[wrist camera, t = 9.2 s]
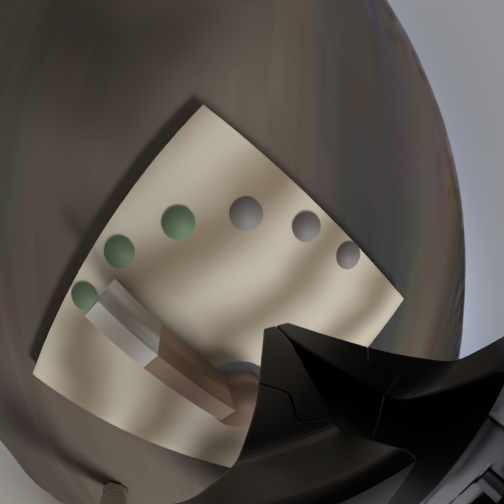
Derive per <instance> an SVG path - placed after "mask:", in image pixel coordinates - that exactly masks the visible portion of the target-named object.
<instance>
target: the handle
mask: <svg viewBox="0 0 504 504" xmlns="http://www.w3.org/2000/svg"><path fill="white" fill-rule="evenodd" d="M127 497H129V492H128V489H127V488H125V487H124V486H123V485H121V484H115V483H113V482H108V484H105V485H104V487H103V494H102V497H101V501H100V504H130V503H129V499H128V498H127Z"/></svg>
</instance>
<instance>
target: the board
mask: <svg viewBox="0 0 504 504" xmlns="http://www.w3.org/2000/svg"><path fill="white" fill-rule="evenodd" d="M114 279H116V280H117V281H118V282H119V283H120V284H121V285H122V286H123V287H124V288H125V289H126V290H127V291H128V292H129V293H130V294H131V295H132V296H133V297H134V298H135V299H136V300H137V301H138V302H139V303H140V304H141V305H142V306H143V307H144V308H145V309H146V310H147V311H148V312H149V313H151V314H152V315H153V316H154V317H155V318H156V319H157V320H158V321H159V322H160V323H161V324H163V325H164V326H165V327H166V328H167V329H168V330H169V331H170V332H172V333H173V334H174V335H175V336H176V337H177V338H178V339H180V340H181V341H182V342H183V343H184V344H185V345H187V346H188V347H189V348H190V349H191V350H193V351H194V352H195V353H196V354H198V355H199V356H200V357H201V358H203V359H204V360H205V361H206V362H208V363H209V364H210V365H211V366H213V367H214V368H215V369H217V370H218V371H219V372H220V373H222V374H223V375H226V374H229V373H233V372H248V373H252V374H254V375H256V376H257V377H258V378H259V375H260V365H261V354H262V343H263V332H264V329H265V328H269V327H273V326H276V327H277V325H280V324H284V323H291V324H294V325H297V326H300V327H303V328H306V329H309V330H312V331H315V332H319V333H322V334H325V335H328V336H332V337H335V338H338V339H342V340H345V341H348V342H352V343H355V344H359V345H362V346H366V347H368V346H369V345H370V344H371V342H372V341H373V340H374V339H375V337H376V336H377V335H378V333H379V332H380V331H381V330H382V328H383V327H384V326H385V324H386V323H387V322H388V320H389V319H390V318H391V316H392V315H393V314H394V312H395V311H396V309H397V308H398V307H399V305H400V304H401V302H402V301H403V298H402V296H401V295H400V294H399V293H398V292H397V290H396V289H395V288H394V287H393V286H392V284H391V283H390V282H389V281H388V280H387V279H386V277H385V276H384V275H383V274H382V273H381V272H380V271H379V269H378V268H377V267H376V266H375V265H374V264H373V263H372V261H371V260H370V259H369V258H368V257H367V256H366V255H365V254H364V253H363V252H362V250H361V249H360V248H359V247H358V245H357V244H355V243H354V242H353V241H352V240H351V239H350V238H349V236H348V235H347V234H346V233H345V232H344V231H343V230H342V229H341V228H340V227H339V226H338V225H337V224H336V223H335V222H334V221H333V220H332V219H331V218H330V217H329V216H328V215H327V214H326V213H325V212H324V211H323V210H322V209H321V208H320V207H319V206H318V205H317V204H316V203H315V202H314V201H313V200H312V199H311V198H310V197H309V196H308V195H307V194H306V193H305V192H304V191H303V190H302V189H301V188H300V187H299V186H298V185H297V184H295V183H294V182H293V181H292V180H291V179H290V178H289V177H288V176H287V175H286V174H285V173H284V172H283V171H281V170H280V169H279V168H278V167H277V166H276V165H275V164H274V163H273V162H272V161H270V160H269V159H268V158H267V157H266V156H265V155H264V154H262V153H261V152H260V151H259V150H258V149H257V148H256V147H254V146H253V145H252V144H251V143H250V142H249V141H247V140H246V139H245V138H244V137H243V136H242V135H240V134H239V133H238V132H237V131H236V130H234V129H233V128H232V127H231V126H229V125H228V124H227V123H226V122H225V121H223V120H222V119H221V118H220V117H218V116H217V115H216V114H215V113H213V112H212V111H211V110H209V109H208V108H207V107H206V106H204V105H202V106H201V107H200V108H199V109H198V111H197V112H196V113H195V114H194V115H193V116H192V117H191V118H190V119H189V120H188V121H187V122H186V123H185V124H184V126H183V127H182V128H181V129H180V130H179V131H178V132H177V133H176V134H175V136H174V137H173V138H172V139H171V140H170V141H169V142H168V144H167V145H166V146H165V147H164V148H163V150H162V151H161V152H160V153H159V154H158V156H157V157H156V158H155V159H154V161H153V162H152V163H151V164H150V166H149V167H148V168H147V169H146V171H145V172H144V173H143V174H142V176H141V177H140V178H139V180H138V181H137V182H136V184H135V185H134V186H133V188H132V189H131V190H130V192H129V193H128V195H127V196H126V197H125V199H124V200H123V202H122V203H121V204H120V206H119V207H118V209H117V210H116V212H115V213H114V215H113V216H112V218H111V219H110V221H109V222H108V224H107V225H106V227H105V228H104V230H103V231H102V233H101V235H100V236H99V238H98V239H97V241H96V243H95V244H94V246H93V248H92V249H91V251H90V253H89V254H88V256H87V258H86V259H85V261H84V263H83V265H82V266H81V268H80V270H79V272H78V274H77V276H76V277H75V279H74V281H73V283H72V285H71V287H70V289H69V291H68V293H67V295H66V297H65V299H64V301H63V303H62V305H61V307H60V309H59V311H58V313H57V315H56V318H55V320H54V322H53V324H52V326H51V329H50V331H49V333H48V336H47V338H46V341H45V343H44V345H43V348H42V351H41V353H40V356H39V358H38V361H37V364H36V367H35V369H34V372H33V374H34V375H35V376H36V377H37V378H39V379H40V380H42V381H43V382H44V383H46V384H47V385H48V386H50V387H51V388H53V389H54V390H55V391H57V392H58V393H60V394H61V395H63V396H64V397H66V398H67V399H69V400H71V401H72V402H74V403H75V404H77V405H79V406H80V407H82V408H84V409H85V410H87V411H89V412H90V413H92V414H94V415H96V416H98V417H99V418H101V419H103V420H105V421H107V422H109V423H111V424H113V425H115V426H117V427H119V428H121V429H123V430H125V431H127V432H129V433H131V434H133V435H136V436H138V437H140V438H143V439H145V440H147V441H150V442H152V443H154V444H157V445H160V446H162V447H165V448H167V449H170V450H173V451H176V452H179V453H181V454H184V455H187V456H190V457H194V458H197V459H200V460H204V461H207V462H211V463H214V464H218V465H222V466H226V467H230V468H231V467H232V466H233V465H234V463H235V462H236V460H237V458H238V456H239V454H240V451H241V449H242V446H243V443H244V440H245V438H246V435H247V432H248V429H249V426H250V425H246V426H240V427H234V426H228V425H225V424H223V423H221V422H220V421H219V420H218V419H217V418H216V417H214V416H213V415H211V414H209V413H208V412H206V411H204V410H203V409H201V408H200V407H198V406H196V405H195V404H193V403H192V402H190V401H189V400H187V399H186V398H184V397H183V396H181V395H180V394H178V393H177V392H175V391H174V390H173V389H171V388H170V387H168V386H167V385H166V384H164V383H163V382H161V381H160V380H159V379H157V378H156V377H155V376H153V375H152V374H151V373H149V372H148V371H147V370H145V369H144V368H143V367H142V366H140V365H139V364H138V363H137V362H135V361H134V360H133V359H132V358H130V357H129V356H128V355H127V354H126V353H124V352H123V351H122V350H121V349H120V348H119V347H117V346H116V345H115V344H114V343H113V342H112V341H111V340H110V339H108V338H107V337H106V336H105V335H104V334H103V333H102V332H101V331H100V330H99V329H98V328H96V327H95V326H94V325H93V324H92V323H91V322H90V321H89V320H88V319H87V318H86V317H85V315H86V314H87V312H88V311H89V309H90V308H91V307H92V305H93V304H94V302H95V301H96V300H97V298H98V297H99V296H100V294H101V293H102V292H103V290H104V289H105V288H106V287H107V286H108V285H109V284H110V283H111V282H112V281H113V280H114Z"/></svg>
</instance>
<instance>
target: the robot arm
mask: <svg viewBox="0 0 504 504" xmlns="http://www.w3.org/2000/svg"><path fill="white" fill-rule="evenodd" d="M176 504H504V337H502V338H500V339H498V340H497V341H495V342H493V343H491V344H490V345H488V346H486V347H484V348H482V349H480V350H478V351H476V352H474V353H473V354H471V355H469V356H467V357H464V358H462V359H459V360H454V361H438V360H431V359H424V358H417V357H410V356H404V355H399V354H393V353H389V352H385V351H381V350H377V349H373V348H370V347H368V348H367V347H366V346H362V345H359V344H355V343H352V342H348V341H345V340H342V339H338V338H335V337H332V336H328V335H325V334H322V333H319V332H315V331H312V330H309V329H306V328H303V327H300V326H297V325H294V324H291V323H284V324H280V325H277V327H276V326H273V327H269V328H265V329H264V332H263V343H262V354H261V365H260V375H259V386H258V394H257V400H256V406H255V409H254V413H253V417H252V420H251V423H250V426H249V429H248V432H247V435H246V438H245V440H244V443H243V446H242V449H241V451H240V454H239V456H238V458H237V460H236V462H235V463H234V465H233V466H232V467H231V468H230V469H229V470H227V471H226V472H225V473H224V474H223V475H222V476H220V477H219V478H218V479H217V480H216V481H214V482H213V483H212V484H211V485H209V486H208V487H207V488H206V489H204V490H203V491H202V492H201V493H199V494H198V495H196V496H195V497H193V498H191V499H189V500H186V501H184V502H180V503H176Z"/></svg>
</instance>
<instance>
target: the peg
mask: <svg viewBox="0 0 504 504" xmlns="http://www.w3.org/2000/svg"><path fill="white" fill-rule="evenodd" d="M85 317H86V318H87V319H88V320H89V321H90V322H91V323H92V324H93V325H94V326H95V327H96V328H98V329H99V330H100V331H101V332H102V333H103V334H104V335H105V336H106V337H107V338H108V339H110V340H111V341H112V342H113V343H114V344H115V345H116V346H117V347H119V348H120V349H121V350H122V351H123V352H124V353H126V354H127V355H128V356H129V357H130V358H132V359H133V360H134V361H135V362H137V363H138V364H139V365H140V366H142V367H143V368H144V369H145V370H147V371H148V372H149V373H151V374H152V375H153V376H155V377H156V378H157V379H159V380H160V381H161V382H163V383H164V384H166V385H167V386H168V387H170V388H171V389H173V390H174V391H175V392H177V393H178V394H180V395H181V396H183V397H184V398H186V399H187V400H189V401H190V402H192V403H193V404H195V405H196V406H198V407H200V408H201V409H203V410H204V411H206V412H208V413H209V414H211V415H213V416H214V417H216V418H217V419H218V420H219V421H220V422H221V423H223V424H225V425H228V426H234V427H240V426H246V425H250V423H251V420H252V417H253V413H254V409H255V406H256V400H257V394H258V386H259V378H258V377H257V376H256V375H254V374H252V373H248V372H233V373H229V374H226V375H223V374H222V373H220V372H219V371H218V370H217V369H215V368H214V367H213V366H211V365H210V364H209V363H208V362H206V361H205V360H204V359H203V358H201V357H200V356H199V355H198V354H196V353H195V352H194V351H193V350H191V349H190V348H189V347H188V346H187V345H185V344H184V343H183V342H182V341H181V340H180V339H178V338H177V337H176V336H175V335H174V334H173V333H172V332H170V331H169V330H168V329H167V328H166V327H165V326H164V325H163V324H161V323H160V322H159V321H158V320H157V319H156V318H155V317H154V316H153V315H152V314H151V313H149V312H148V311H147V310H146V309H145V308H144V307H143V306H142V305H141V304H140V303H139V302H138V301H137V300H136V299H135V298H134V297H133V296H132V295H131V294H130V293H129V292H128V291H127V290H126V289H125V288H124V287H123V286H122V285H121V284H120V283H119V282H118V281H117V280H116V279H114V280H113V281H112V282H111V283H110V284H109V285H108V286H107V287H106V288H105V289H104V290H103V292H102V293H101V294H100V296H99V297H98V298H97V300H96V301H95V302H94V304H93V305H92V307H91V308H90V309H89V311H88V312H87V314H86V315H85Z"/></svg>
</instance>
